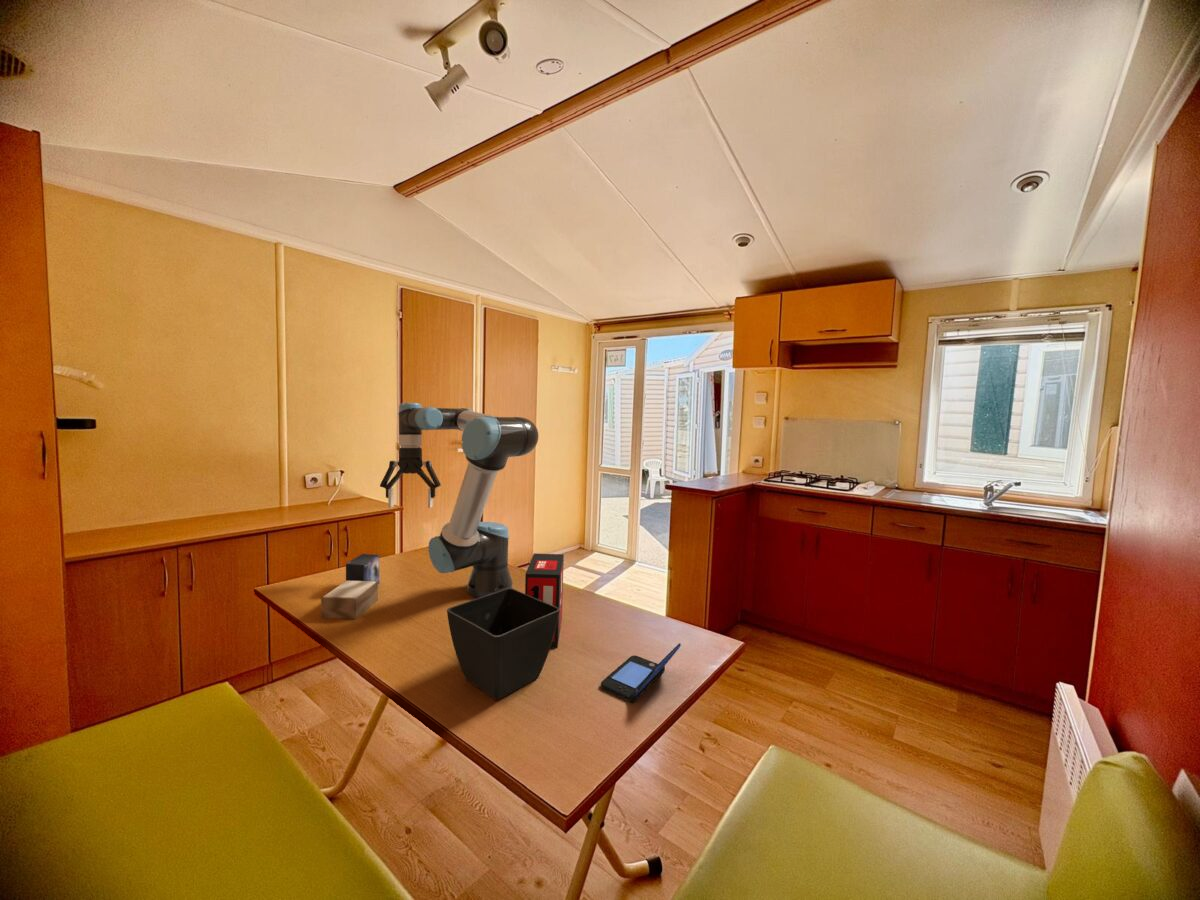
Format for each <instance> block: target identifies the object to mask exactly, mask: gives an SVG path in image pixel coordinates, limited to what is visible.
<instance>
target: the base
mask: <svg viewBox="0 0 1200 900" xmlns="http://www.w3.org/2000/svg"><path fill="white" fill-rule="evenodd" d="M378 585H379V584H378V582H375V581H346V580H345V581H344V582H342V583H341V584H340V585H338V586H337V587H335V588H334V589H332V590H331V591H330V592H328V593H326V594H325V595H323V596H321V598H320V602H321V603H320V605H321V619H342V620H357V619H358V618H359V617H361V615H363V614H364V613H365V612H366V611H367V610H369V609H370V608H371V607H372V606H373V605H375V604H376V602H378V600H379V595H378V594H379V591H378V590H379V589H378V588H379V586H378Z"/></svg>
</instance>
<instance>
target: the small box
mask: <svg viewBox="0 0 1200 900" xmlns="http://www.w3.org/2000/svg"><path fill="white" fill-rule="evenodd" d="M345 581H375V582H378V585H379V584H380V554H371V553H362V554H359V555H358V556H356V557H353V558H352V559H351V560H349V561H347V562H346V563H345Z"/></svg>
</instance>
